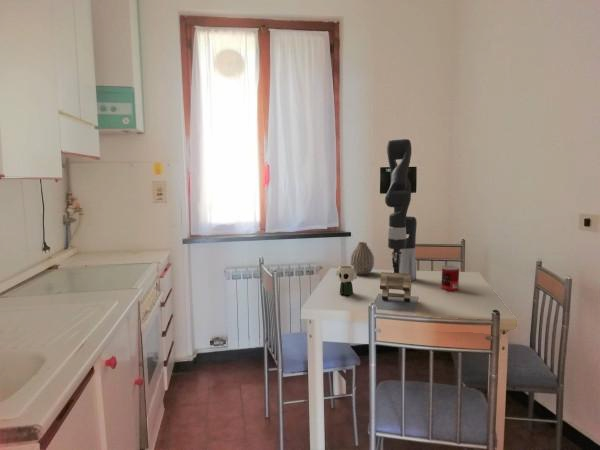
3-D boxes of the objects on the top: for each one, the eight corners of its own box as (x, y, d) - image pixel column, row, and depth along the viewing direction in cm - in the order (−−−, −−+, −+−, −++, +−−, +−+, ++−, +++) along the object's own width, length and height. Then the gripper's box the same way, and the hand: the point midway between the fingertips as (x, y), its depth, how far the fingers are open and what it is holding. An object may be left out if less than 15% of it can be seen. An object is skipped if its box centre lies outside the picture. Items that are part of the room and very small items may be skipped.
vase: (348, 271, 253) (348, 240, 251) (371, 270, 254) (371, 240, 252) (352, 276, 240) (352, 244, 238) (376, 276, 241) (376, 244, 239)
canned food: (459, 288, 216) (459, 265, 214) (457, 292, 208) (458, 269, 207) (442, 286, 219) (443, 264, 217) (440, 290, 212) (441, 268, 210)
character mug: (332, 294, 208) (332, 266, 206) (340, 290, 213) (340, 264, 212) (352, 298, 201) (352, 269, 199) (360, 294, 206) (360, 267, 205)
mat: (378, 294, 206) (378, 293, 206) (418, 297, 200) (418, 296, 200) (370, 309, 184) (370, 308, 184) (415, 313, 179) (415, 312, 179)
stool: (410, 301, 193) (409, 288, 183) (382, 299, 196) (379, 286, 187) (411, 287, 197) (410, 273, 187) (383, 285, 200) (381, 272, 191)
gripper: (390, 234, 199) (389, 272, 201) (386, 239, 186) (385, 279, 188) (407, 235, 196) (406, 273, 198) (404, 239, 184) (403, 280, 186)
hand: (396, 276), depth 193 cm, fingers closed
